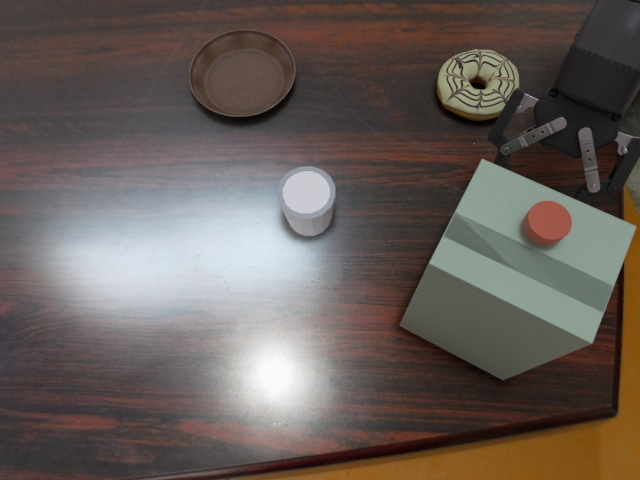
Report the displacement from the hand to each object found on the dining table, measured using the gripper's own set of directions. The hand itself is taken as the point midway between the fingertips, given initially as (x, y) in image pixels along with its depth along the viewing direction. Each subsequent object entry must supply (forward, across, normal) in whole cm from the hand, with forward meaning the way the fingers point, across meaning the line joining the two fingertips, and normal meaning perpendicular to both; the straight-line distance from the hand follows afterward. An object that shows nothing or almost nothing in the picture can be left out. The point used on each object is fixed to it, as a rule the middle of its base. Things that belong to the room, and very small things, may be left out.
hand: (528, 201), depth 59 cm
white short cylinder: (+13, -23, -1) cm, 26 cm away
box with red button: (+13, 0, -1) cm, 13 cm away
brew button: (-4, 0, -19) cm, 19 cm away
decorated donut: (-7, -12, +16) cm, 21 cm away
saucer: (+3, -41, +9) cm, 42 cm away
